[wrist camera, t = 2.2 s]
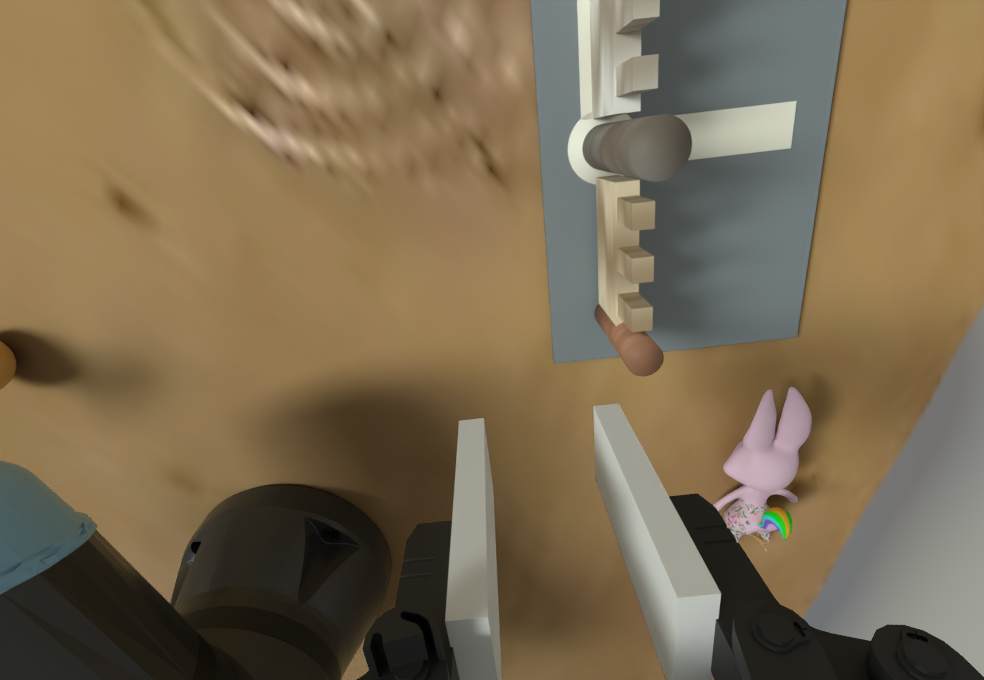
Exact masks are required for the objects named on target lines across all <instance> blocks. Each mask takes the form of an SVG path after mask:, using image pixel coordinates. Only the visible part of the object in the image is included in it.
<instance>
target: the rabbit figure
mask: <svg viewBox="0 0 984 680" xmlns="http://www.w3.org/2000/svg"><path fill="white" fill-rule="evenodd" d="M775 425H776V408H775V403H774V398H773V392H772V390H771V389H768V390H767V391H766V392H765V393H764V395H763V397H762V399H761V402H760V405H759V407H758V410H757V412H756V415H755V417H754V419H753V421H752V423H751V425H750V428H749V429H748V431H747V433H746V434H745V436H744V438H743V440H742V441H741V442H739V444H738V445H737V446H736V448H735V449H734V451H733V452H732V454H731V455H730V456H729V458H728V459H727V461H726V462H725V463H724V466H723V469H724V471H725V472H726V474H728V475H729V476H730V477H732V478H733V479H735V480H737V481H739V482H740V483H742V484H744V485H742V486H741V487H739V488H738V489H736V490H734V491H732V492H731V493H729V494H727V495H726V496H724V497H723V498H721V499H720V500H719V501H717V502H716V503H715V504H714V505H713V506H714V507H715V508H716V509H717V511H719V510H721V509H722V508H723V506H724V505H726V504H727V503H729V502H730V501H732V500H734V499H737V498H739V499H738V500H736V501H735V502H734V503H733V504H732V505H731V506H729V507H728V508H727V509H726V510H725V512H724V515H723V520H724V521H725V523H726V524H727V528H729V529H730V530H731V532H732V534H733V535H734V537H735V538H736V541H737V543H738V540H739V539H740V538H741V537H742V535H743V534H746V535H748V534H751V535H750V536H754V538H755V539H756V540H757V541H758V542H759V543H760V544H761V545H762V546H764V549H765V551H766V548H765V544H764V543H770V533H771V531H775V530H777V529H778V530H779V531H780V533H781V534H782V536H783V538H784V540H785V539H786V538H788V537H789V535H790V533H791V531H792V519H791V516H790V514H789V513H788V512H787V511H785V510H784V509H782V508H779V507H773V508H770V507H769V506H768V505H767V503H766V501H767V499H768V497H769V496H771V495H774V494H778V495H782V496H785V497H786V498H787V499H788V500H789V501H790V502H792V503H796V502H797V501H798V498H797V497H796V496H795V495H794V494H793V493H791V492H790V491H788V490H786V489H784V488H785V487H786V486H788V485H789V484H790V483H791V482H792V481H793V479H794V477H795V475H796V473H797V470H798V466H799V456H798V450H799V448H800V446H801V445H802V444H803V443H804V442H805V441H806V440H807V438H808V436H809V434H810V431H811V425H812V417H811V412H810V409H809V407H808V405H807V403H806V402H805V400H804V398H803V397H802V395H801V394H800V393H799V391H798V390H797V389H796V388H794V387H790V388H789V389H788V394H787V398H786V401H785V404H784V407H783V411H782V415H781V418H780V421H779V424H778V427H777V431H776V434H775ZM752 533H756V535H752Z"/></svg>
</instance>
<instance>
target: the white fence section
mask: <svg viewBox="0 0 984 680" xmlns="http://www.w3.org/2000/svg"><path fill="white" fill-rule="evenodd" d="M589 4H590V44H591V84H592V119H596V118H604V117H613V116H618V115H623V114H628V113H633V112H638V111H641V93H644V92H647V91H650V90H653V89H657V88H658V58H659V54H653V55H645V56H641V29H642V28H644V27H645V26H646V25H648V24H649V23H651V22H652V21H653V20H655V19H656V18H658V17H659V13H660V0H589ZM691 150H692V137H691V133H690V131H689V128H688V127H687V125H686V124H685V123H684V122H683V121H682V120H681V119H680V118H678V117H676V116H674V115H670V114H660V115H654V116H648V117H641V118H635V119H629V120H623V121H617V122H610V123H604V124H600V125H597V126H595V127H594V128H592V129H591V130H590V131H589V132H588V133H587V135H586V137H585V139H584V141H583V146H582V151H583V156H584V159H585V161H586V162H587V163H588V165H590V166H591V167H592V168H594V169H597V170H602V171H606V172H611V173H616V174H620V175H625V176H629V177H634V178H639V179H643V180H648V181H654V182H660V181H665V180H668V179H670V178H672V177H674V176H675V175H676V174H678V173H679V172H680V171H681V170H682V169H683V167H684V166H685V165H686V163H687V161H688V159H689V157H690V154H691Z"/></svg>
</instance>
